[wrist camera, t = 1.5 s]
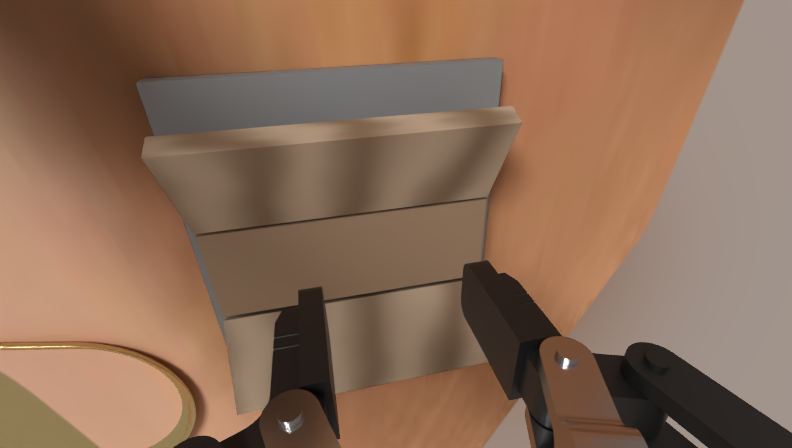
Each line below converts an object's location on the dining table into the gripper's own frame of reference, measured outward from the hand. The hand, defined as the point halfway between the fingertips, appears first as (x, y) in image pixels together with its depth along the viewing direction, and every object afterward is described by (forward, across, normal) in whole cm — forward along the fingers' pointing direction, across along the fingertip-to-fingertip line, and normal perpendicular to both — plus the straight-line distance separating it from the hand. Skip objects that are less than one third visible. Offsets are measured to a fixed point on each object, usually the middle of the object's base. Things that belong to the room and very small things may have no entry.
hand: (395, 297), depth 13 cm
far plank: (+16, 0, +18) cm, 24 cm away
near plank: (+16, 0, +1) cm, 16 cm away
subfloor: (+19, 0, +10) cm, 22 cm away
